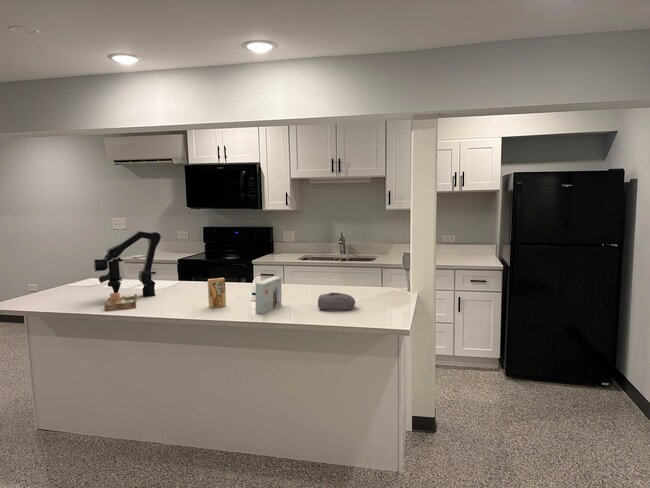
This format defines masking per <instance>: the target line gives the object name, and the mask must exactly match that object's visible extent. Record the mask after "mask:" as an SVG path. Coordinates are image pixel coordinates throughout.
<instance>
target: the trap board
mask: <svg viewBox="0 0 650 488" xmlns="http://www.w3.org/2000/svg"><path fill="white" fill-rule="evenodd" d="M137 301H138V295H137V293H135V294H134V295H132V296H130V295H129V296H120V300H112V301H111V299H110V297H109V298H108V300H107V302H106V304H105V305H104V309H105V312H111V311H121V310H133V309H137Z"/></svg>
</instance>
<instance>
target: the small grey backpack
mask: <svg viewBox="0 0 650 488" xmlns="http://www.w3.org/2000/svg"><path fill="white" fill-rule="evenodd" d="M317 299H318V300H317V307H318V309H322V310H321V311H326V310H344V311H349V309H350V310H353V309H354V308H355V305H356V300H355V298H354V297H353V296H351V295H350V294H347V293H342V292H329V293H324V294H320V295H318V298H317ZM353 307H354V308H353ZM352 308H353V309H352Z"/></svg>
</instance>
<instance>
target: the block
mask: <svg viewBox="0 0 650 488" xmlns="http://www.w3.org/2000/svg"><path fill="white" fill-rule="evenodd" d="M120 297H121V293H120V292H118V293H114V292H112V293H110V295H109V298H110V299H111V301H112V300H120Z"/></svg>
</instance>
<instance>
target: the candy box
mask: <svg viewBox="0 0 650 488" xmlns="http://www.w3.org/2000/svg"><path fill="white" fill-rule="evenodd" d="M207 296H208V307H209V308H210V309H213V308H212V307H214V308H219V307H221V308H222V307H226V306H227V297H226V296H227V295H226V279H225V278H224V277H219V278H218V277H217V278H208V279H207Z"/></svg>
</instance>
